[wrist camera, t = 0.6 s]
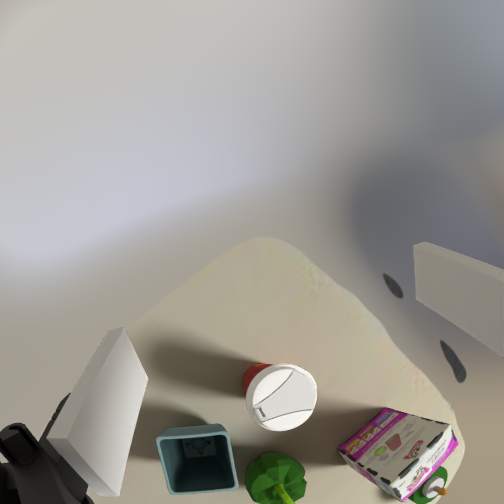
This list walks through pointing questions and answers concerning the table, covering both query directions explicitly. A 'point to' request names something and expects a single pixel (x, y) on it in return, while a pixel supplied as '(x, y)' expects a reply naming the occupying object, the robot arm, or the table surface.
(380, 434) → the candy bar box
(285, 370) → the paper cup
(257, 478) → the bell pepper
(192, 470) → the flower pot
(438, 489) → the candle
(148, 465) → the table surface
